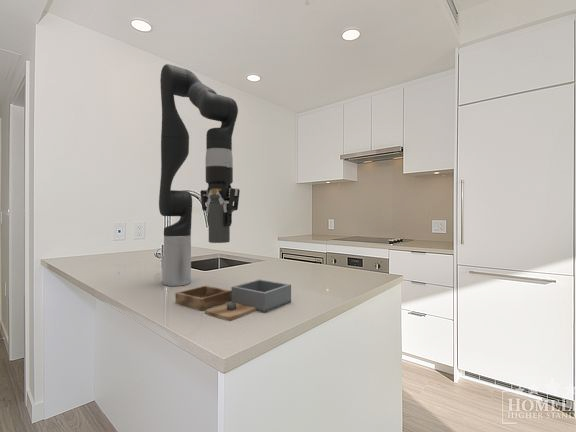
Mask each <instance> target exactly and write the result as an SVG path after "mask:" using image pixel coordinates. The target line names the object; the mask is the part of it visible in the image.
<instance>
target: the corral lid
mask: <svg viewBox="0 0 576 432" xmlns="http://www.w3.org/2000/svg"><path fill="white" fill-rule="evenodd" d="M255 312H257V311H256V308H255V307H251V306H247V305H243V304H238V303H234V302H231V301H230V302H227V303H224V304H221V305H218V306H215V307H212V308H209V309H206V310H204V314H205V315H208V316H211V317H215V318H218V319H222V320H225V321H229V322H231V321H233V320H236V319H238V318H239V319H240V317H244V316H246V315H249V314H251V313H255Z"/></svg>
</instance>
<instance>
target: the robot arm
mask: <svg viewBox="0 0 576 432" xmlns="http://www.w3.org/2000/svg"><path fill="white" fill-rule="evenodd" d="M159 78H160V83H159V84H160V99H161V129H160V130H161V131H160V134H161V135H160V161H161V163H160V164H161V165H160V167H161V169H160V180H159V181H160V184H159V196H158V210H159V214H160V215H161V216H162V217H180V218H179V220H178V221H177V222H175V223H173V224H171V225H168V226H165V227H163V256H162V259H161V261H162V262H161V263H162V266H161V267H162V271H161V272H162V283H163V285H164V286H169V287H176V286H186V285H188V284H191V282H192V239H191V238H192V218H193V217H192V215H193V213H192V212H193V196H192V194H191V192H190V191H189V190H172V184H173V180H174V178H175V176H176V174H177V173H178V171H179V169H181V167H182V166H183V164H184V163H185V162H186V160H187V158H188V156H189V153H190V134H189V131H188V129H187V127H186V125H185V123H184V122H183V119H182V118H181V116H180V114H179V112H178V110H177V107H176V106H177V105H176V102H175V96H178V97H181V98H188V99H189V102H191V104H192V105H193V106H194V107H195V108H196V109H198V110H199V114H200V115H201V116H202V117H203V118H205V119H208V120H211V121H217V122H221V124H220V127H212V128H209V129H208V130H206V138H205V139H206V144H205V145H206V148H205V149H206V152H205V183H206V184H207V189H201V190H200V202H201V209H202V211H204V212H206V213H207V226H209V204H210V203H212V199H210V195H212V193H211V189H217V193H216V195H219V197H220V198H219V202H220V205H222V206H223V210H224V212H225V213H223V225H224V226H230V227H231V226H232V222H233V219H232V218H233V216H232V215H233V213H234V212H235V211H238V210H239V209H238V208H239V199H240V189H239V188H236V187H234V188H233V187H232V186H231V184H233V182H234V181H233V180H234V179H233V178H234V177H233V176H234V171H233V170H234V168H233V167H234V166H233V165H234V164H233V162H234V161H233V144H232V143H233V142H232V141H233V140H232V139H233V135H234V134H233V133H234V130H235V129H234V128H235V125H236V121H237V117H238V114H239V108H238V104H237V101H236V100H234V99H233V98H232V97H230V96H225V95H222V94H218V93H217V92H216V91H215V90H214V89H212V88H211V87H209V86H207V85H206V84H204V83H202V81H201V80H200V79H199V78H198V77H197V75H196V74H195V73H194V72H192V71H191V70H189V69H186V68H183V67H180V66H176V65H172V64H168V63H166V64H164V65H163V66H162V69H161V71H160V77H159ZM218 189H221V191H220V190H218ZM227 205H228V208H227Z"/></svg>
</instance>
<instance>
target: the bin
mask: <svg viewBox="0 0 576 432" xmlns="http://www.w3.org/2000/svg"><path fill="white" fill-rule="evenodd" d="M230 291H231V301H230V302H234V303H238V304H243V305H247V306H251V307H255V308H256V311H255V312H259V313H264V314H265V313H268V312H271V311H273V310H275V309H277V308H279V307H280V308H281V307H283V306H284V305H287V304H290V303H291V302H292V284H289V283H282V282H278V281H271V280H265V279H256V280H252V281H249V282H244V283H240V284H238V285H233V286H231V290H230Z"/></svg>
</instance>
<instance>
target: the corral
mask: <svg viewBox="0 0 576 432" xmlns="http://www.w3.org/2000/svg"><path fill="white" fill-rule="evenodd" d="M174 297H175V298H174V299H175V304H176V305H179V306H183V307H186V308H190V309H193V310H196V311H201V312H202V311H205V310H208V309H211V308H214V307H217V306H220V305H223V304H226V303H230V302H231V290H229V289H224V288H218V287H215V286H210V285H202V286H199V287H194V288H191V289H187V290H186V289H185V290H182V291H178V292H175V296H174Z"/></svg>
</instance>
